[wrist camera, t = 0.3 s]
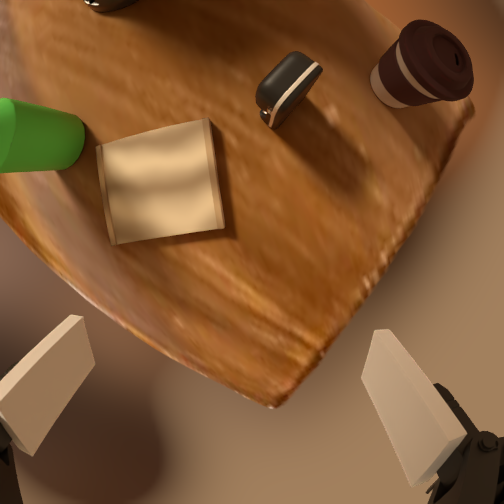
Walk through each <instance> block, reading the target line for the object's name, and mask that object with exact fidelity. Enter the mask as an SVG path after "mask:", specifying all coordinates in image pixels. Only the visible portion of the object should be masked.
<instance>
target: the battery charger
mask: <svg viewBox="0 0 504 504" xmlns="http://www.w3.org/2000/svg"><path fill="white" fill-rule="evenodd" d="M322 71H323V69H322V67H321V66H319V64H318V63H317V62H314V61H313V60H311V59H310V58H309V57H307V56H306V55H304V54H303V53H301V52H298V51H294V52H291V53H289V54H288V55H287V56H286V57H285V58H284V59H283V60H282V61H281V62H280V63H279V64H278V65H277V66H276V67H275V68H274V69H273V70H272V71H271V72H270V73H269V74H268V75H267V76H266V77H265V78H264V79H263V80H262V82H261V83H260V84H259V86H258V88H257V92H256V96H255V97H256V104H257V105H258V106H259V107H260V108H261V111H260V117H261V118H262V120H263V121H264V122H265V123H266V124H268V126H269V127H270V128H271V127H272V128H273V129H277V128H278V127H279V126H280V125H281V124H282V122H283V121H284V120H285V119H286V118H287V117H288V116H289V114H290V113H291V112H292V111H293V110H294V109H295V108H296V107H297V105H298V104H299V103H300V102H301V101H302V100H303V99H304V98H305V96H306V95H307V93H308V92H309V90H310V89H311V87H312V86H313V85H314V83H315V82H316V80H317V79H318V77H319V76H320V74H321V73H322Z"/></svg>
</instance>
